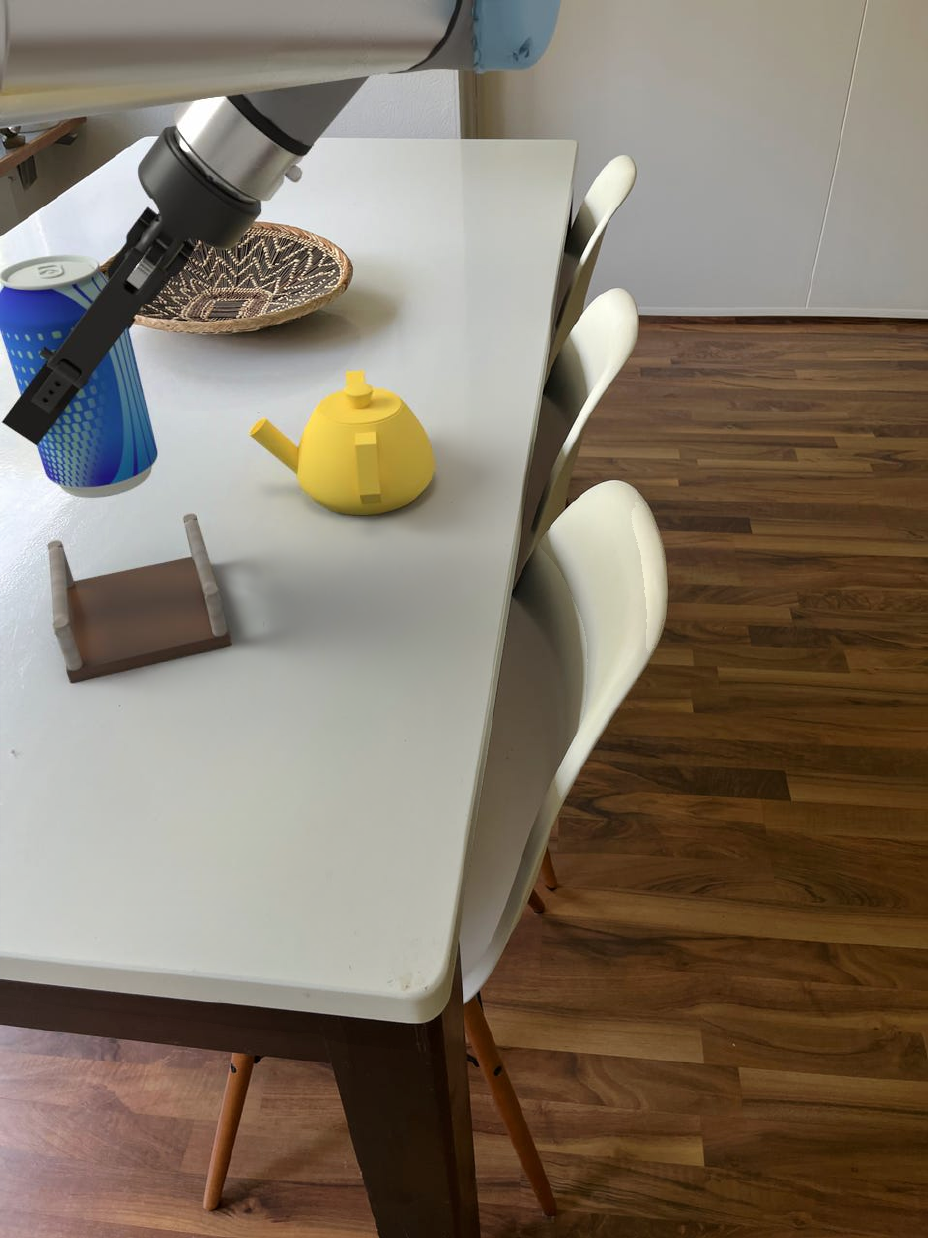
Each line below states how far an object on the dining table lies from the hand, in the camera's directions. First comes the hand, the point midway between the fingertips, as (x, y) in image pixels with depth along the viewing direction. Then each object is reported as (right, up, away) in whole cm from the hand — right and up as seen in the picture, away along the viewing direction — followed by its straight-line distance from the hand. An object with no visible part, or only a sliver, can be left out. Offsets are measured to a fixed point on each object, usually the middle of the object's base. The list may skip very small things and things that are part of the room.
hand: (40, 403), depth 73 cm
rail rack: (+4, -16, +12) cm, 21 cm away
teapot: (+19, -2, +30) cm, 36 cm away
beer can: (+4, -5, +4) cm, 7 cm away
